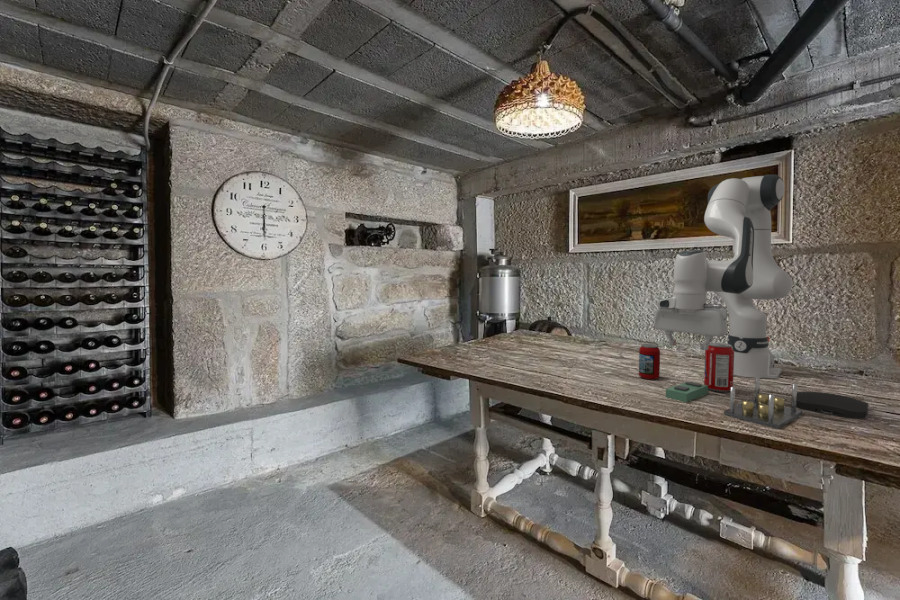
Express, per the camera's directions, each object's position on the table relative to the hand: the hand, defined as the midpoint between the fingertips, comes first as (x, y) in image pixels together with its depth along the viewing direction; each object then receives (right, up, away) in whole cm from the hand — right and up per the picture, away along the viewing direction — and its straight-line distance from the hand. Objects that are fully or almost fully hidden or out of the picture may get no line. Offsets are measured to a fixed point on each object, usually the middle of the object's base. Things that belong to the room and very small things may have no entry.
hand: (687, 347), depth 123 cm
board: (0, -16, +1) cm, 16 cm away
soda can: (+14, -15, +6) cm, 21 cm away
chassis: (+11, -16, -16) cm, 25 cm away
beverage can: (-1, -14, +22) cm, 26 cm away
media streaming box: (+33, -16, -12) cm, 38 cm away
